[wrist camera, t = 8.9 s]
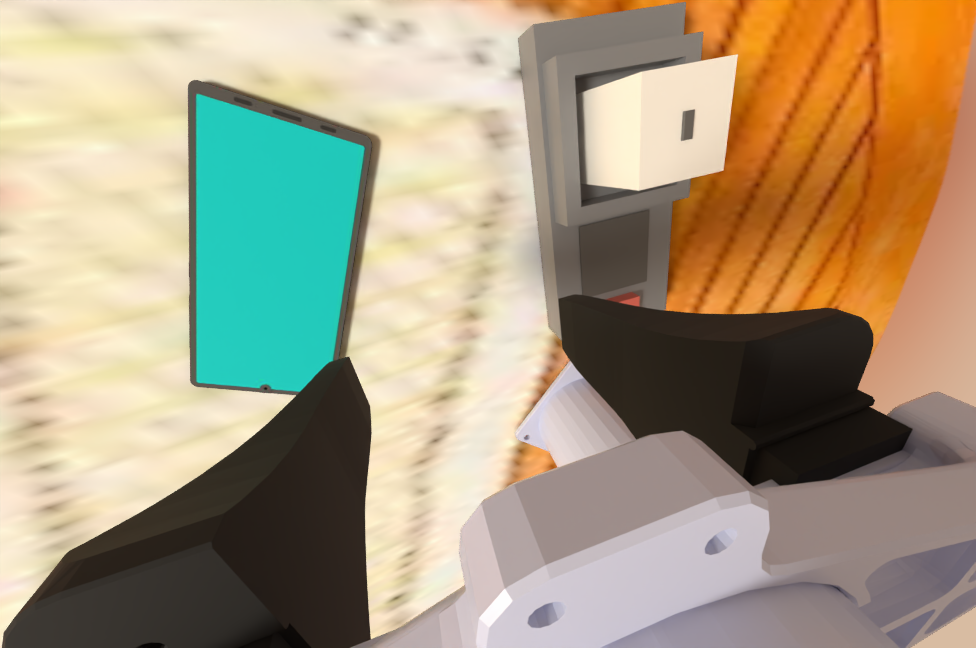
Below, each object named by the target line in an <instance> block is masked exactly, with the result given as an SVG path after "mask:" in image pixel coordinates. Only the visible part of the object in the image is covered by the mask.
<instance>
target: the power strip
mask: <svg viewBox="0 0 976 648" xmlns="http://www.w3.org/2000/svg"><path fill="white" fill-rule="evenodd" d="M685 8H686V2H683V3H676V4H669V5H662V6H656V7H649V8H642V9H635V10H628V11H622V12H615V13H608V14H601V15H594V16H588V17H581V18H574V19H567V20H560V21H554V22H547V23H540V24H533V25H532V26H531V27H530V28H529V29H528V30H527V31H526V32H525V33H523V34H522V35H521V36H520V37H519V38H518V43H519V52H520V61H521V71H522V80H523V90H524V99H525V108H526V118H527V127H528V137H529V146H530V155H531V165H532V174H533V183H534V193H535V202H536V212H537V221H538V230H539V240H540V249H541V259H542V268H543V277H544V287H545V296H546V305H547V315H548V324H549V328H550V329H551V330H552V331H553V332H554V333H555V334H556V335H557V336H558V337H559V338H560V339H561V340H562V336H561V325H560V314H559V303H558V299H559V298H563V297H566V296H570V295H573V294H578V295H586V296H591V297H596V298H600V299H605V300H610V301H614V302H619V303H624V304H628V305H634V306H639V307H645V308H651V309H657V310H665V309H666V297H667V282H668V267H669V251H670V236H671V221H672V206H673V201H676V200H680V199H684V198H688V197H689V194H690V182H691V178H690V179H686V180H682V181H677V182H673V183H669V184H665V185H661V186H656V187H652V188H648V189H644V190H639V191H638V190H630V189H622V188H614V187H606V186H597V185H589V184H581V183H580V170H579V149H578V129H577V109H576V94H579V93H582V92H584V91H587V90H590V89H593V88H596V87H599V86H602V85H605V84H608V83H610V82H613V81H616V80H619V79H622V78H625V77H628V76H631V75H634V74H637V73H639V72H643V71H648V70H654V69H659V68H665V67H671V66H676V65H682V64H687V63H693V62H698V61H701V54H702V42H703V32H698V33H692V34H685V35H684V23H685Z"/></svg>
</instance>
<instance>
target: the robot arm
mask: <svg viewBox="0 0 976 648" xmlns="http://www.w3.org/2000/svg"><path fill="white" fill-rule="evenodd" d="M558 303H559V314H560V325H561V336H562V348H563V350H564V351H565V353H566V355H567V356H568V358H569V359H570V361H569V362H568V364H567V365H566V366H565V368H564V369H563V370H562V371H561V373H560V374H559V375H558V377H557V378H556V379H555V381H554V382H553V383H552V384H551V386H550V387H549V388H548V390H547V391H546V392H545V394H544V395H543V396H542V397H541V399H540V400H539V401H538V403H537V404H536V405H535V407H534V408H533V409H532V410H531V412H530V413H529V414H528V416H527V417H526V418H525V420H524V421H523V422H522V423H521V425H520V426H519V427H518V429H517V430H516V432H515V436H516V438H517V439H518V440H520V441H523V442H525V443H528V444H531V445H533V446H536V447H538V448H541V449H544V450H546V451H549V452H550V454H551V456H552V458H553V459H554V461H555V463H556V465H557V467H558V468H555V469H552V470H549V471H546V472H543V473H541V474H538V475H535V476H532V477H529V478H527V479H524V480H521V481H518V482H515V483H513V484H511V485H509V486H507V487H506V488H504V489H502V490H500V491H498V492H497V493H495V494H493V495H491V496H490V497H488V498H486V499H484V500H483V501H482V503H481V504H480V505H479V506H478V508H477V509H476V510H475V511H474V513H473V514H472V515H471V516H470V518H469V519H468V520H467V522H466V523H465V524H464V525H463V527H462V528H461V533H460V547H459V555H460V561H461V566H462V571H463V577H464V582H465V585H464V586H463V587H461V588H460V589H458V590H457V591H455V592H453V593H452V594H450V595H449V596H447V597H446V598H444V599H443V600H441V601H439V602H438V603H436V604H435V605H433V606H432V607H430V608H429V609H427V610H426V611H424V612H422V613H421V614H419V615H418V616H416V617H415V618H413V619H412V620H410V621H408V622H407V623H405V624H404V625H402V626H401V627H399V628H398V629H396V630H393V631H391V632H388V633H386V634H383V635H381V636H378V637H376V638H373V639H371V637H370V625H369V609H368V591H367V572H366V545H365V497H366V486H367V476H368V466H369V455H370V444H371V414H370V405H369V403H368V400H367V398H366V396H365V393H364V391H363V389H362V386H361V384H360V382H359V379H358V377H357V374H356V372H355V370H354V367H353V365H352V363H351V360H350V358H349V357H345V358H342V359H338V360H335V361H331V362H329V363H328V364H326V365H325V366H324V367H323V368H322V369H321V370H320V371H319V372H318V373H317V374H316V375H315V376H314V377H313V379H312V380H311V381H310V382H309V383H308V384H307V385H306V386H305V387H304V388H303V389H302V390H301V391H300V392H299V393H298V394H297V395H296V397H295V398H294V399H293V400H292V401H291V402H290V403H288V404H287V405H286V406H285V407H284V408H283V409H282V410H281V411H280V412H279V413H278V414H277V415H276V416H275V417H274V418H273V419H272V420H271V421H270V422H269V423H268V424H266V425H265V426H264V427H263V428H262V429H261V430H260V431H258V432H257V433H256V434H255V435H254V436H252V437H251V438H250V439H249V440H248V441H246V442H245V443H244V444H243V445H241V446H240V447H239V448H238V449H236V450H235V451H234V452H232V453H231V454H229V455H228V456H227V457H225V458H224V459H222V460H221V461H220V462H218V463H217V464H215V465H214V466H213V467H211V468H210V469H208V470H207V471H206V472H204V473H203V474H201V475H200V476H199V477H197V478H196V479H194V480H192V481H191V482H189V483H188V484H186V485H185V486H183V487H182V488H180V489H178V490H177V491H175V492H174V493H172V494H170V495H169V496H167V497H166V498H164V499H162V500H161V501H159V502H157V503H156V504H154V505H152V506H151V507H149V508H147V509H146V510H144V511H142V512H140V513H139V514H137V515H135V516H133V517H132V518H130V519H128V520H126V521H124V522H122V523H121V524H119V525H117V526H115V527H113V528H111V529H110V530H108V531H106V532H104V533H102V534H100V535H99V536H97V537H95V538H93V539H91V540H89V541H88V542H86V543H84V544H82V545H80V546H78V547H76V548H74V549H72V550H70V551H69V552H68V553H67V554H66V555H65V556H64V557H63V558H62V560H61V561H60V562H59V563H58V565H57V566H56V567H55V568H54V570H53V571H52V572H51V573H50V575H49V576H48V577H47V578H46V580H45V581H44V582H43V583H42V585H41V586H40V587H39V588H38V589H37V591H36V592H35V593H34V594H33V596H32V597H31V598H30V599H29V601H28V602H27V603H26V604H25V605H24V607H23V608H22V609H21V610H20V612H19V613H18V614H17V615H16V617H15V618H14V619H13V621H12V622H11V623H10V625H9V626H8V628H7V629H6V630H5V632H4V635H3V644H2V648H910V647H912V646H914V645H915V644H917V643H919V642H920V641H922V640H923V639H925V638H927V637H928V636H930V635H931V634H933V633H935V632H936V631H938V630H939V629H941V628H942V627H944V626H946V625H947V624H949V623H950V622H952V621H953V620H955V619H957V618H958V617H960V616H962V615H963V614H965V613H967V612H968V611H970V610H972V609H973V608H975V607H976V407H974V406H971V405H969V404H966V403H964V402H962V401H959V400H957V399H955V398H952V397H950V396H947V395H945V394H943V393H940V392H933V393H929V394H927V395H924V396H921V397H919V398H916V399H914V400H911V401H909V402H906V403H904V404H901V405H899V406H897V407H895V408H894V409H893V410H892V411H891V412H890V413H889V414H888V415H887V416H886V415H884V414H882V413H881V412H878V411H877V410H875V409H873V408H871V407H869V406H872V405H873V404H874V401H875V400H874V399H873V397H872V396H870V395H868V394H866V393H864V392H861V391H859V390H857V389H858V386H859V383H860V381H861V378H862V375H863V373H864V370H865V368H866V365H867V363H868V360H869V358H870V354H871V351H872V347H873V333H872V330H871V328H870V325H869V323H868V322H867V321H865V320H864V319H863V318H861V317H859V316H856V315H853V314H850V313H847V312H844V311H841V310H838V309H832V308H821V309H811V310H800V311H790V312H780V313H761V314H698V313H684V312H674V311H665V310H657V309H651V308H645V307H639V306H634V305H628V304H624V303H619V302H614V301H610V300H605V299H600V298H596V297H591V296H586V295H578V294H573V295H570V296H566V297H563V298H559V299H558ZM526 435H527V436H526ZM525 436H526V437H525Z"/></svg>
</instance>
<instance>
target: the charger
mask: <svg viewBox="0 0 976 648" xmlns="http://www.w3.org/2000/svg"><path fill="white" fill-rule="evenodd" d="M737 57H738V54H737V55H732V56H726V57H720V58H715V59H709V60H704V61H698V62H693V63H687V64H682V65H676V66H671V67H665V68H659V69H654V70H648V71H643V72H639V73H637V74H634V75H631V76H628V77H625V78H622V79H619V80H616V81H613V82H610V83H608V84H605V85H602V86H599V87H596V88H593V89H590V90H587V91H584V92H582V93H579V94H576V109H577V129H578V149H579V170H580V183H581V184H589V185H597V186H606V187H614V188H622V189H630V190H638V191H639V190H644V189H648V188H652V187H656V186H661V185H665V184H669V183H673V182H677V181H682V180H686V179H690V178H694V177H698V176H703V175H707V174H711V173H715V172H720V171H723V170H724V162H725V154H726V146H727V138H728V130H729V122H730V114H731V105H732V97H733V89H734V81H735V73H736V65H737Z"/></svg>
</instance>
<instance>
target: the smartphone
mask: <svg viewBox="0 0 976 648" xmlns="http://www.w3.org/2000/svg"><path fill="white" fill-rule="evenodd" d="M188 149H189V277H190V295H189V324H190V381H191V383H192V384H193V385H194V386H197V387H206V388H217V389H229V390H241V391H253V392H262V393H277V394H289V395H297V394H298V393H299V392H300V391H301V390H302V389H303V388H304V387H305V386H306V385H307V384H308V383H309V382H310V381H311V380H312V379H313V377H314V376H315V375H316V374H317V373H318V372H319V371H320V370H321V369H322V368H323V367H324V366H325V365H326V364H328V363H329V362H331V361H335V360H338V359H339V354H340V347H341V341H342V334H343V328H344V322H345V315H346V309H347V303H348V296H349V290H350V283H351V277H352V271H353V264H354V258H355V252H356V245H357V239H358V233H359V226H360V220H361V213H362V207H363V201H364V194H365V188H366V182H367V175H368V169H369V162H370V156H371V150H372V142H371V140H370V139H369V137H367V136H366V135H363V134H360V133H357V132H354V131H351V130H348V129H345V128H342V127H339V126H336V125H333V124H330V123H327V122H324V121H321V120H317V119H314V118H311V117H308V116H305V115H302V114H299V113H296V112H293V111H290V110H287V109H284V108H281V107H278V106H275V105H272V104H269V103H265V102H262V101H259V100H256V99H253V98H250V97H247V96H244V95H241V94H238V93H235V92H232V91H229V90H226V89H223V88H220V87H217V86H214V85H210V84H207V83H204V82H201V81H198V80H194V81H191V82H190V83H189V85H188Z"/></svg>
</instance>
